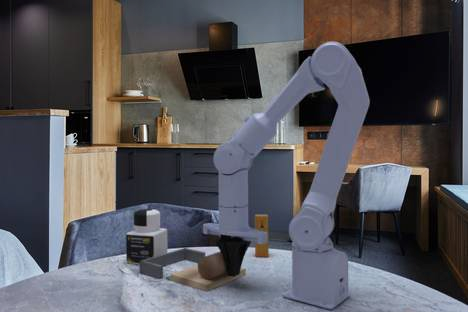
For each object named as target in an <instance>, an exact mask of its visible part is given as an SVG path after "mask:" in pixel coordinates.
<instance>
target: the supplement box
mask: <svg viewBox="0 0 468 312" xmlns="http://www.w3.org/2000/svg"><path fill="white" fill-rule="evenodd" d="M254 229H256V230H259V231H263V232H267V243H264V244H257V242H254V243H255V245H254V246H255V247H254V248H255V249H254V252H255V253H254V255H255V257H257V258H259V257H260V258H261V257H262V258H263V257H264V258H268V257H269V252H270V251H269V247H270V246H269V216H268V214H267V213H266V214H255V216H254Z"/></svg>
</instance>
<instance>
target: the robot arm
mask: <svg viewBox="0 0 468 312" xmlns="http://www.w3.org/2000/svg"><path fill="white" fill-rule="evenodd" d="M364 79H365V78H364V76H363V72H362V69H361V67H360V66H359V65H358V63H357V61H356V59H355V57H354V56H353V55H352V54H351V53H350V51H349V49H348V48H346V46H345V45H343V44H342V43H340V42H338V41H327V42H324V43H322V44H321V45H319V46H317V48H316V49H315V50H314V52H313V53H312V55H311V56H310V55H309V56H308V57H307V58H306V59H305V60H304V61H303V62H302V63H301V64H300V66H299V68H298V69H297V70H296V72H295V73H294V74H293V76H292V77H291V78H290V80H289V81H287V83H286V84H285V85H284V87H283V88H282V89H281V90H280V91H279V92H278V94H277V95H276V96H275V98H274V99H273V100H272V101H271V103H270V104H269V105H268V106H267V108H266V109H265V110H264V111H263V112H256V113H253V114H252V115H247V116H246V117H245V118H244V119H243V122H244V124H243V125H242V126H241V127H240V128H239V129H238V131H237V132H236V133H235V134H234V135H230V137H229V138H228V140H229V142H223V143H221V144H219V145H218V146H217V148H216V149H215V152H214V153H213V158H212V159H213V163H214V167H215V169H217V171H218V223H212V222H208V223H204V224H203V225H202V234H204V235H214V236H220V237H219V239H216V240H215V245H216V246H217V248H218V249H219V252H220V251H221V254H222V256H223V259H224V262H225V265H226V269H227V273H228V276H232V277H235V276H237V275H239V274H240V269H241V268H242V264H243V262H244V258H245V255H246V253H247V251H248V249H249V247H250V245H251V244H252V242H253V243H255V242H257V244H264V243H267V232H263V231H259V230H256V229H255V228H253V227H250V225H249V181H248V180H249V173H248V172H249V170H250V168H251V167H252V165H253V163H254V159H255V158H256V156H258V155H259V153H260V152H261V151H262V150H263V149H265V147H266V146H267V145H268V144H269V143H270V141H272V140H273V138H274V137H275V136H276V135H277V130H278V124H279V123H280V121H282V120H283V119H284V117H286V116H287V114H288V113H290V112H291V111H292V110H293V109H294V108H295V107H296V106H297V105H298V104H299V103H300V102H301V101H302V100H303V99H304V98H305V97H306V96H307V95H309V94H311V93H316V92H320V91H321V92H322V91H324V90H326V87H325V85H326V86H327V87H328V88H329V91H330V92H331V94H332V96H333V97H334V100H335V101H336V103H337V109H336V112H335V116H334V118H333V120H332V124H331V126H330V130H329V133H328V135H327V139H326V141H325V145H324V147H323V150H322V154H321V156H320V159H319V162H318V164H317V168H316V171H315V174H314V176H313V180H312V183H311V186H310V189H309V191H308V194H307V195H306V197H305V198H304V201H303V202H302V205H301V208H300V211H298V213H297V214H296V215H295V216H294V217H293V218H292V219H291V220H290V223H289V227H288V235H289V238H290V239H291V241H292V242H291V246H292V249H291V254H292V255H291V256H292V257H291V259H292V261H291V262H292V263H291V264H292V265H291V269H292V270H291V273H292V274H291V275H292V276H291V277H292V278H291V281H292V283H291V288H290V289H288V290H286V291H285V292H283V293H282V296H283V297H284V298H287V299H290V300H291V299H292V300H294V301H298V302H302V303H305V304H309V305H313V306H317V307H321V308H323V309H328V310H333V309H334V308H335V307H337V306H338V305H340V304H341V303H343V302H344V300H346V299H347V298H348V297H350V296H351V293H350V292H349V259H348V255H347V253H345V252H344V251H341V250H337V249H336V248H334V243H333V242H332V239H331V237H329V236H330V235H331V234H332V232H333V231H334V227H335V219H334V218H335V217H334V212H335V210H336V206H337V198H338V197H339V196H338V195H339V193H340V189H341V187H342V185H343V184H342V183H343V181H344V178H345V176H346V173H347V169H348V167H349V164H350V161H351V159H352V156H353V152H354V150H355V147H356V144H357V141H358V138H359V135H360V132H361V129H362V126H363V123H364V121H365V119H366V115H367V113H368V111H369V110H368V109H369V107H370V102H371V101H370V96H369V93H368V90H367V86H366V82H365V80H364Z"/></svg>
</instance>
